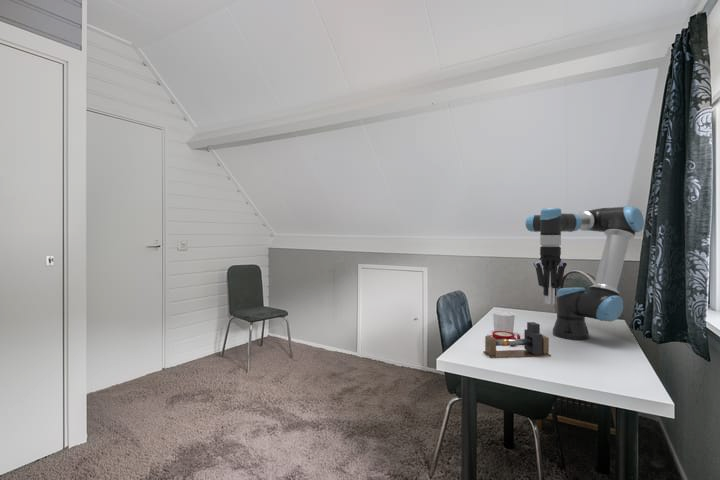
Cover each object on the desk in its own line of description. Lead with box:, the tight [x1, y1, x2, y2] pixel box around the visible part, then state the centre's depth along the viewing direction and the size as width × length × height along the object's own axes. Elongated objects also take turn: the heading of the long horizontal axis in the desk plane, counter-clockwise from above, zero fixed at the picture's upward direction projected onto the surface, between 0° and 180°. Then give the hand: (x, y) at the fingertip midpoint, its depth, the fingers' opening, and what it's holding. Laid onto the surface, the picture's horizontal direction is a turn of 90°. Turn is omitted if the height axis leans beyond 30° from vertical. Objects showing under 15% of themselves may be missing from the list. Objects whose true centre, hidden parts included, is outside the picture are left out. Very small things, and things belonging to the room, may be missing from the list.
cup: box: [492, 310, 516, 334], centre depth 182 cm, size 10×10×10 cm
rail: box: [483, 334, 552, 359], centre depth 150 cm, size 25×7×7 cm, turn 95°
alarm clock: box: [486, 330, 521, 347], centre depth 166 cm, size 10×6×15 cm
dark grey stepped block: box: [523, 321, 544, 355], centre depth 151 cm, size 3×8×12 cm, turn 5°
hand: (549, 303), depth 151 cm, fingers closed
